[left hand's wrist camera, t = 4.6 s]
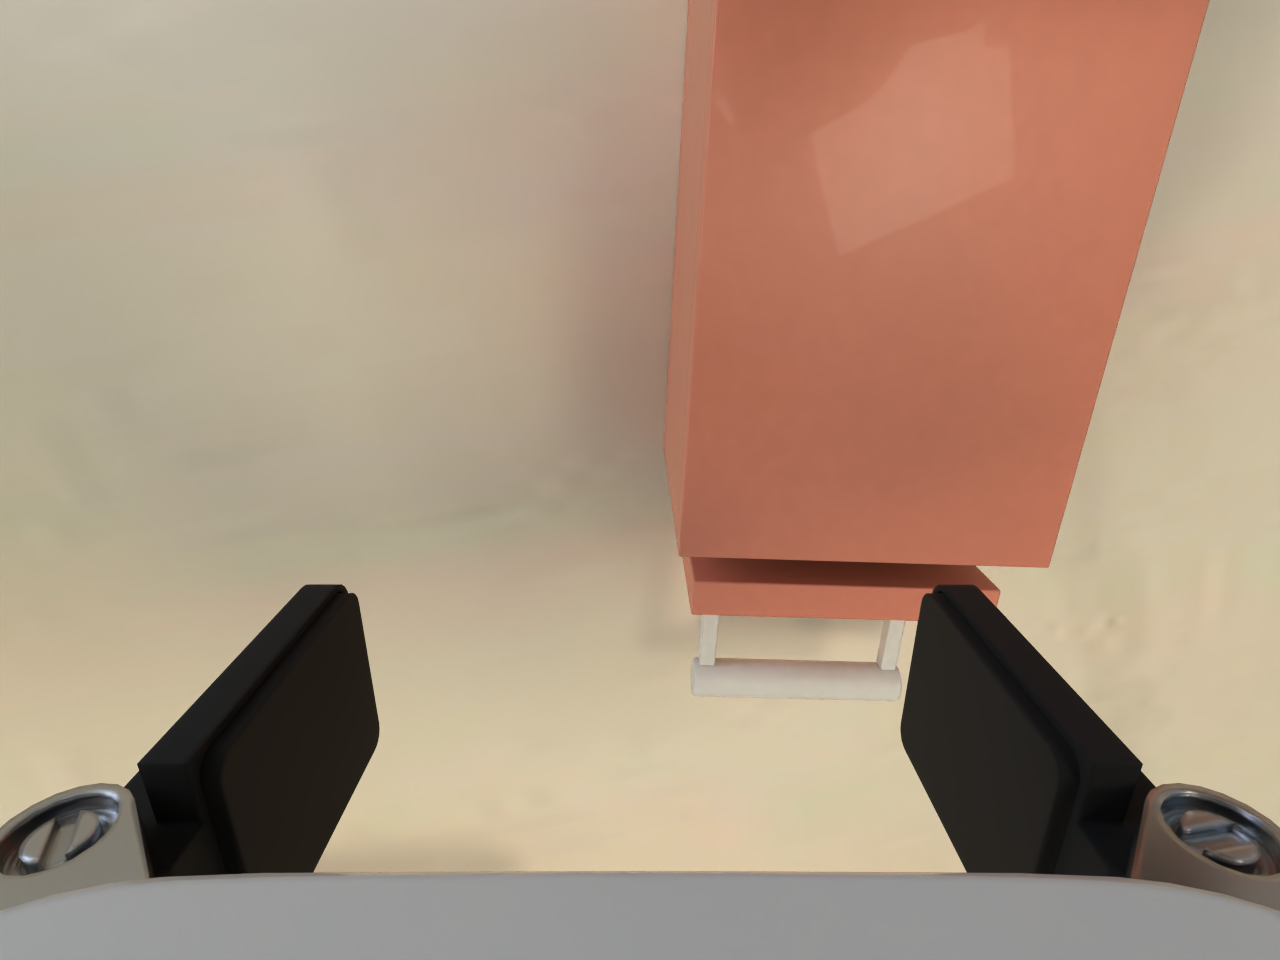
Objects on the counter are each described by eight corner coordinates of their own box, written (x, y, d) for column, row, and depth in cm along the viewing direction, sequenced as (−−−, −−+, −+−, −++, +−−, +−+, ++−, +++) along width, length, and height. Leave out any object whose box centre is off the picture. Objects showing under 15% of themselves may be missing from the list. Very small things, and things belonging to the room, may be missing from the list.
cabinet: (916, 459, 29) (1049, 568, 20) (663, 450, 28) (678, 556, 19) (1031, -134, 22) (1321, -394, 13) (696, -152, 21) (745, -432, 12)
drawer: (877, 642, 31) (954, 773, 23) (668, 636, 31) (679, 767, 23) (1002, -8, 22) (1187, -123, 15) (710, -23, 22) (749, -148, 14)
